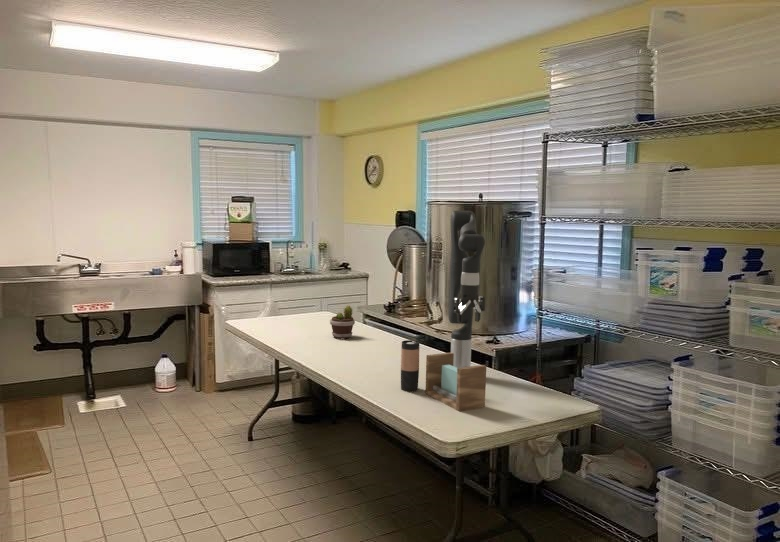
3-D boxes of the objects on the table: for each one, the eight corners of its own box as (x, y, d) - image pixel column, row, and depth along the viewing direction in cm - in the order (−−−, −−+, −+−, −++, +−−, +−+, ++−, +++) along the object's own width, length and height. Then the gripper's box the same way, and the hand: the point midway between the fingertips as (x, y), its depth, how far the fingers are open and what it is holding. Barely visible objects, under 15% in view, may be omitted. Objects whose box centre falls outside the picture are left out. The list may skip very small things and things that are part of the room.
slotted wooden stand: (425, 393, 241) (426, 355, 240) (449, 389, 247) (451, 352, 246) (459, 411, 220) (460, 369, 219) (484, 406, 226) (486, 366, 225)
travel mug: (403, 392, 242) (404, 344, 240) (397, 386, 250) (399, 340, 248) (420, 391, 245) (422, 343, 243) (415, 385, 252) (416, 339, 250)
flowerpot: (328, 339, 339) (328, 305, 337) (331, 334, 354) (332, 301, 352) (353, 340, 338) (353, 306, 336) (355, 335, 354) (356, 302, 352)
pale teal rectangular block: (441, 391, 239) (441, 365, 238) (448, 390, 241) (449, 364, 240) (460, 401, 227) (461, 374, 226) (468, 400, 228) (469, 373, 227)
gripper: (478, 281, 247) (477, 319, 249) (450, 282, 240) (448, 321, 242) (489, 283, 240) (488, 322, 242) (460, 285, 233) (459, 325, 235)
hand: (468, 322), depth 242 cm, fingers open, 8 cm apart
